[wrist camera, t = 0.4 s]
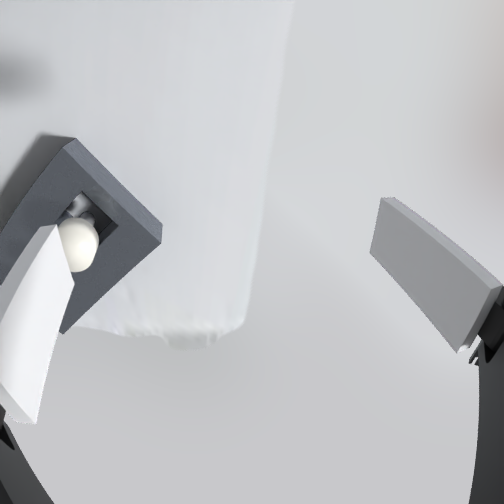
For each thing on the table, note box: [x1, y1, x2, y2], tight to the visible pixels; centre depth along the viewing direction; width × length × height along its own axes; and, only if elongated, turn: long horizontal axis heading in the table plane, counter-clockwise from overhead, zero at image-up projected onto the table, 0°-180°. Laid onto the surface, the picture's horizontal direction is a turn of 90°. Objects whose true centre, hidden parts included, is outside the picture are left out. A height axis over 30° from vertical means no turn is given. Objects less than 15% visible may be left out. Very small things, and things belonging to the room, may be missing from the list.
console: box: [0, 139, 163, 334], centre depth 35 cm, size 16×22×5 cm
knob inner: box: [58, 212, 99, 272], centre depth 31 cm, size 5×5×7 cm
